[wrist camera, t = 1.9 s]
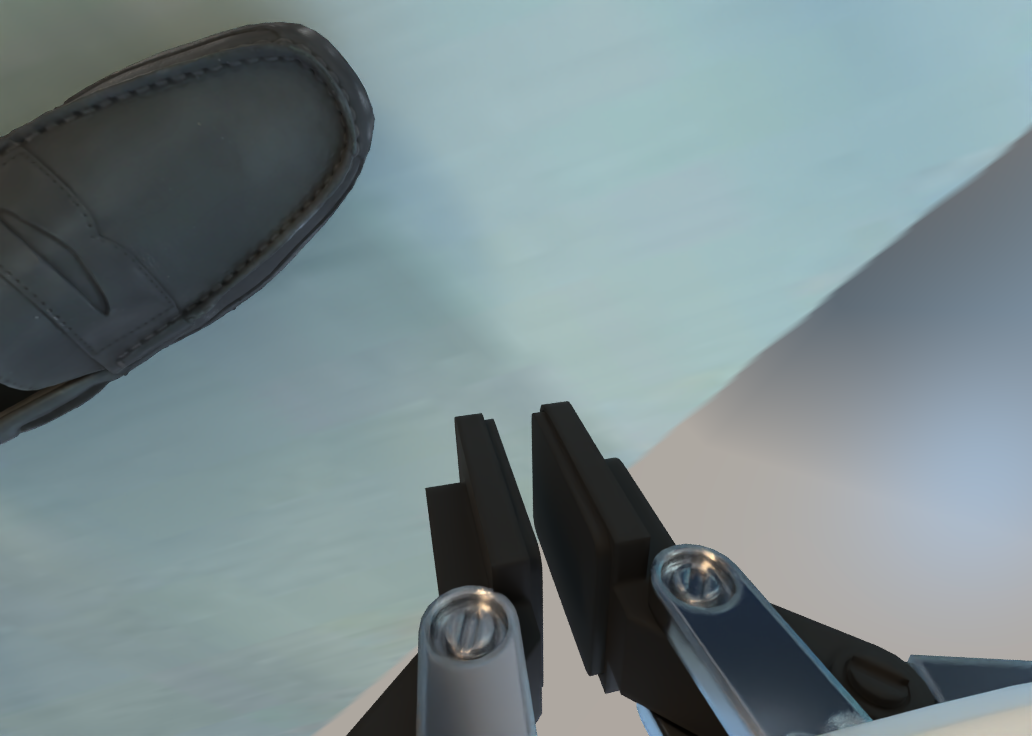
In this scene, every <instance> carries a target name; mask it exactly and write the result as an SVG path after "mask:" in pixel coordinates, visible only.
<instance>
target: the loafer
mask: <svg viewBox="0 0 1032 736" xmlns="http://www.w3.org/2000/svg"><path fill="white" fill-rule="evenodd" d="M374 120H375V118H374V114H373V108H372V106H371V103H370V101H369V98H368V95H367V93H366V90H365V88H364V86H363V85H362V83H361V81H360V79H359V78H358V76H357V75H356V73H355V72H354V71H353V69H352V68H351V66H350V65H349V64H348V63H347V61H346V60H345V59H344V57H343V56H342V55H341V54H340V53H339V52H338V51H337V49H336V48H335V47H334V46H333V45H332V44H331V43H330V42H329V41H328V40H327V39H326V38H324V37H323V36H322V35H320V34H319V33H317V32H316V31H314V30H312V29H310V28H308V27H305V26H303V25H301V24H295V23H285V22H275V23H261V24H255V25H246V26H243V27H239V28H236V29H232V30H228V31H225V32H221V33H218V34H214V35H211V36H209V37H206V38H203V39H200V40H197V41H194V42H192V43H188V44H185V45H181V46H178V47H176V48H173V49H169V50H166V51H163V52H161V53H158V54H156V55H153V56H151V57H149V58H146V59H144V60H142V61H139V62H137V63H135V64H133V65H130V66H128V67H126V68H124V69H122V70H120V71H117V72H114V73H112V74H111V75H109V76H107V77H105V78H103V79H101V80H99V81H98V82H96V83H94V84H93V85H91V86H88V87H87V88H85V89H83V90H82V91H80V92H79V93H77V94H75V95H74V96H72V97H71V98H69V99H68V100H67V101H65V102H64V104H63V105H61V106H59V107H56V108H54V110H51V111H48V112H46V113H44V114H42V115H41V116H39V117H38V118H36V119H34V120H33V121H31V122H29V123H27V124H25V125H23V126H21V127H19V128H17V129H15V130H13V131H11V132H10V133H9V134H8V135H6V136H4V137H0V445H1V444H3V443H5V442H7V441H9V440H11V439H13V438H15V437H17V436H18V435H19V434H20V433H22V432H26V431H29V430H32V429H34V428H37V427H39V426H42V425H44V424H46V423H48V422H50V421H52V420H54V419H56V418H58V417H60V416H62V415H64V414H66V413H67V412H69V411H71V410H73V409H75V408H77V407H79V406H81V405H82V404H84V403H85V402H87V401H88V400H90V399H91V398H93V397H94V396H95V395H96V394H97V393H99V392H100V391H101V390H102V389H103V388H104V387H105V386H106V385H107V384H108V383H109V382H111V381H113V380H116V379H118V378H120V377H121V376H123V375H127V374H128V372H129V371H131V370H132V369H134V368H135V367H137V366H138V365H140V364H142V363H143V362H145V361H146V360H148V359H149V358H151V357H152V356H153V355H155V354H156V353H157V352H158V351H160V350H162V349H163V348H166V347H168V346H169V345H171V344H173V343H176V342H178V341H180V340H182V339H183V338H185V337H187V336H189V335H191V334H193V333H195V332H197V331H199V330H201V329H202V328H204V327H206V326H208V325H210V324H211V323H213V322H215V321H216V320H218V319H219V318H221V317H222V316H224V315H225V314H226V313H228V312H229V311H231V310H235V309H236V307H237V306H238V305H240V304H241V303H242V302H244V301H246V300H247V299H248V298H250V297H251V296H252V295H253V294H255V293H256V292H258V291H259V290H261V289H262V288H263V287H264V286H265V285H266V284H267V283H268V282H270V281H271V280H272V279H273V278H274V277H275V276H276V275H277V274H278V273H279V272H280V271H281V270H282V269H283V268H284V267H285V266H286V265H287V264H288V263H289V262H290V261H291V260H292V259H293V258H294V257H295V256H296V254H297V253H298V252H299V251H300V250H301V249H302V248H303V247H304V246H305V245H306V244H307V243H308V242H309V241H310V240H311V238H312V237H313V236H314V235H315V234H316V233H317V232H318V231H319V230H320V229H321V228H322V227H323V225H324V224H325V223H326V222H327V221H328V219H329V218H330V217H331V216H332V215H333V214H334V212H335V211H336V209H337V208H338V207H339V205H340V204H341V203H342V201H343V200H344V199H345V197H346V196H347V194H348V193H349V192H350V191H351V189H352V188H353V186H354V184H355V182H356V180H357V178H358V176H359V175H360V172H361V170H362V168H363V164H364V162H365V159H366V156H367V154H368V152H369V150H370V146H371V141H372V134H373V129H374Z"/></svg>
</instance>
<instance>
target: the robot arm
mask: <svg viewBox="0 0 1032 736" xmlns="http://www.w3.org/2000/svg"><path fill="white" fill-rule="evenodd" d="M455 433H456V444H457V455H458V466H459V477H460V483H454V484H448V485H442V486H435V487H429V488H425V489H426V497H427V505H428V513H429V521H430V529H431V537H432V545H433V553H434V560H435V568H436V576H437V584H438V591H439V597H438V598H437V599H435V600H434V601H433V602H432V603H431V604H430V605H429V606H428V608H427V609H426V611H425V613H424V614H423V616H422V618H421V622H420V627H419V638H418V653H417V655H416V656H415V657H414V658H413V659H412V660H411V661H410V663H409V664H408V665H407V666H406V667H405V669H403V671H402V672H401V673H400V674H399V675H398V676H397V678H396V679H395V680H394V681H393V682H392V683H391V685H390V686H389V687H388V688H387V689H386V690H385V691H384V693H383V694H382V695H381V696H380V697H379V699H378V700H377V701H376V702H375V703H374V704H373V705H372V707H371V708H370V709H369V710H368V711H367V712H366V714H365V715H364V716H363V717H362V718H361V719H360V721H359V722H358V723H357V724H356V725H355V726H354V727H353V729H352V730H351V731H350V732H349V733H348V734H347V736H537V732H536V725H535V724H536V722H537V721H538V719H539V717H540V716H541V714H542V687H543V589H542V587H543V580H542V562H541V556H540V551H539V547H538V543H537V540H536V537H535V534H534V532H533V529H532V526H531V523H530V520H529V518H528V515H527V512H526V509H525V506H524V503H523V501H522V498H521V495H520V492H519V489H518V486H517V484H516V481H515V478H514V475H513V472H512V470H511V467H510V464H509V461H508V458H507V455H506V453H505V450H504V447H503V444H502V441H501V439H500V436H499V433H498V430H497V427H496V424H495V422H494V419H488V420H484V417H483V415H482V413H480V414H472V415H465V416H458V417H455ZM532 473H533V518H534V525H535V529H536V533H537V536H538V539H539V541H540V544H541V547H542V550H543V552H544V555H545V558H546V561H547V564H548V566H549V569H550V572H551V575H552V577H553V580H554V583H555V586H556V589H557V591H558V594H559V597H560V599H561V603H562V605H563V608H564V611H565V614H566V616H567V619H568V622H569V625H570V627H571V630H572V633H573V636H574V639H575V641H576V644H577V647H578V650H579V652H580V655H581V658H582V661H583V664H584V666H585V669H586V671H587V673H588V675H589V676H593V675H597V674H598V676H599V678H600V681H601V684H602V686H603V689H604V692H605V693H611V692H615V691H619V690H620V693H621V695H623V696H625V697H627V698H629V699H631V700H632V701H634V702H636V703H637V710H638V713H639V715H640V718H641V721H642V723H643V724H644V727H645V728H646V730H647V732H648V734H649V736H1032V661H1022V660H1003V659H983V658H965V657H945V656H925V655H910V658H909V660H908V662H904V661H903V660H901V659H900V658H899V657H897V656H896V655H894V654H892V653H890V652H888V651H886V650H884V649H882V648H880V647H878V646H876V645H874V644H871V643H869V642H866V641H864V640H861V639H859V638H856V637H854V636H851V635H849V634H846V633H844V632H841V631H839V630H836V629H834V628H831V627H829V626H826V625H823V624H821V623H819V622H816V621H813V620H811V619H808V618H806V617H804V616H801V615H799V614H796V613H794V612H791V611H789V610H786V609H784V608H781V607H779V606H776V605H773V604H771V603H769V602H768V601H767V600H766V598H765V597H764V596H763V595H762V594H761V593H760V591H759V590H758V589H757V588H756V587H755V586H754V585H753V583H752V582H751V581H750V580H749V579H748V578H747V577H746V576H745V574H744V573H743V572H742V571H741V570H740V569H739V568H738V567H737V565H736V564H734V563H733V562H732V561H731V560H730V559H729V558H727V557H726V556H725V555H723V554H721V553H719V552H717V551H715V550H713V549H710V548H707V547H704V546H700V545H692V544H682V545H675V543H674V542H673V540H672V538H671V537H670V535H669V534H668V532H667V531H666V529H665V528H664V527H663V524H662V523H661V521H660V520H659V518H658V517H657V515H656V514H655V512H654V511H653V509H652V507H651V506H650V504H649V503H648V501H647V500H646V498H645V497H644V495H643V494H642V492H641V491H640V489H639V488H638V486H637V485H636V483H635V481H634V480H633V478H632V477H631V475H630V474H629V472H628V470H627V469H626V467H625V466H624V464H623V463H622V462H621V461H620V459H618V458H610V459H604V458H603V457H602V455H601V453H600V452H599V450H598V448H597V447H596V445H595V443H594V442H593V440H592V438H591V437H590V435H589V433H588V432H587V430H586V428H585V427H584V425H583V423H582V422H581V420H580V419H579V417H578V415H577V414H576V412H575V410H574V409H573V407H572V405H571V404H570V403H569V402H568V401H566V402H558V403H551V404H544V405H541V408H540V412H538V413H533V414H532Z"/></svg>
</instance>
